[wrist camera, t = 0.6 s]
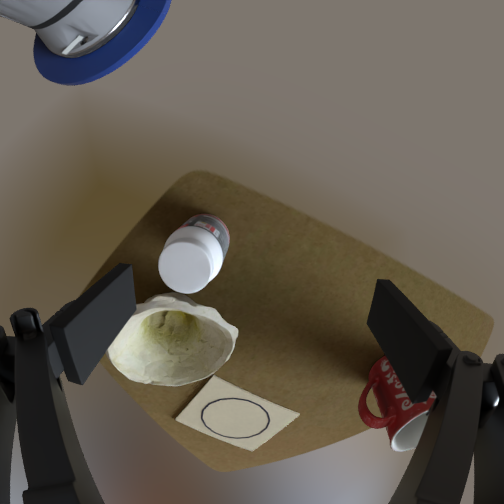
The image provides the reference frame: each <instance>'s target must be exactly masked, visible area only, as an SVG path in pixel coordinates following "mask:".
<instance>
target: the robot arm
mask: <svg viewBox="0 0 504 504" xmlns="http://www.w3.org/2000/svg"><path fill="white" fill-rule="evenodd" d="M139 2H140V0H0V16H1V17H5V18H7V19H10V20H13V21H15V22H17V23H20V24H23V25H25V26H28V27H30V28H32V29H34V30H35V31H36V33H37V34H38V35H39V37H40V38H41V40H42V41H43V42H44V44H45V45H46V46H47V48H48V49H49V50H50V51H51V52H53V53H55V54H57V55H59V56H62V57H65V58H77V57H81V56H84V55H87V54H90V53H92V52H94V51H96V50H97V49H99V48H101V47H102V46H104V45H105V44H107V43H108V42H109V41H110V40H112V39H113V38H114V37H115V36H116V35H117V34H118V33H119V32H120V31H121V30H122V29H123V28H124V27H125V26H126V25H127V23H128V22H129V21H130V19H131V18H132V16H133V15H134V13H135V11H136V10H137V7H138V5H139ZM136 310H137V308H136V300H135V291H134V282H133V271H132V264H123V263H119V264H118V265H117V266H115V267H114V268H113V269H112V270H111V271H109V272H108V273H107V274H106V275H105V276H103V277H102V278H101V279H100V280H99V281H97V282H96V283H95V284H94V285H93V286H91V287H90V288H89V289H88V290H87V291H86V292H84V293H83V294H82V295H81V296H80V297H79V298H78V299H76V300H74V301H71V302H69V303H67V304H65V305H64V306H63V307H62V308H61V309H60V311H57V312H56V313H55V315H53V316H52V317H51V318H50V319H49V320H48V321H46V322H45V323H44V324H43V325H41V321H40V318H39V314H38V311H37V310H36V309H34V308H23V309H20V310H18V311H16V312H14V313H13V314H12V315H11V317H10V322H11V325H12V328H13V331H14V333H15V336H16V337H12V336H6V333H5V331H4V328H3V327H2V326H0V504H10V473H11V458H12V448H13V439H14V432H15V425H16V419H17V424H18V433H19V440H20V447H21V453H22V459H23V464H24V469H25V473H26V478H27V482H28V490H25V491H23V494H22V497H23V503H24V504H105V503H104V501H103V499H102V497H101V495H100V493H99V491H98V489H97V487H96V485H95V482H94V480H93V478H92V475H91V473H90V470H89V468H88V465H87V463H86V460H85V458H84V455H83V452H82V450H81V447H80V444H79V441H78V438H77V435H76V432H75V429H74V426H73V422H72V419H71V415H70V412H69V408H68V405H67V401H66V397H65V393H64V389H63V385H62V381H61V378H60V374H61V373H62V372H63V371H64V372H65V374H66V377H67V379H68V381H70V382H73V383H76V384H80V385H83V384H84V383H85V381H86V380H87V378H88V377H89V375H90V374H91V372H92V371H93V369H94V368H95V367H96V365H97V364H98V362H99V361H100V359H101V358H102V357H103V355H104V354H105V352H106V351H107V350H108V348H109V347H110V345H111V344H112V343H113V341H114V340H115V338H116V337H117V336H118V334H119V333H120V331H121V330H122V329H123V327H124V326H125V325H126V323H127V322H128V321H129V319H130V318H131V317H132V315H133V314H134V313H135V311H136ZM367 325H368V327H369V328H370V330H371V332H372V333H373V335H374V337H375V338H376V340H377V342H378V343H379V345H380V347H381V349H382V350H383V352H384V354H385V356H386V357H387V359H388V361H389V363H390V364H391V366H392V368H393V370H394V371H395V373H396V375H397V377H398V379H399V380H400V382H401V384H402V386H403V388H404V390H405V391H406V393H407V395H408V397H409V399H410V401H411V403H412V404H416V403H422V402H427V400H428V398H429V397H430V395H431V393H432V391H433V392H434V393H435V395H436V398H435V400H434V402H433V403H432V405H431V407H430V409H429V410H428V412H427V414H426V416H428V415H429V416H428V419H427V421H426V424H425V427H424V429H423V432H422V435H421V437H420V440H419V442H418V445H417V447H416V449H415V452H414V454H413V456H412V458H411V461H410V463H409V465H408V467H407V469H406V471H405V474H404V475H403V477H402V479H401V482H400V484H399V485H398V487H397V489H396V491H395V493H394V495H393V496H392V498H391V500H390V502H389V504H460V501H461V498H462V495H463V492H464V488H465V485H466V481H467V478H468V474H469V470H470V466H471V461H472V457H473V452H474V474H475V475H474V504H504V354H499V355H497V356H496V358H495V360H494V362H493V364H488V363H483V361H482V359H481V358H480V357H479V356H478V355H477V354H475V353H472V352H469V351H460V350H459V348H458V347H457V346H456V345H455V344H454V343H453V342H452V341H451V339H450V338H448V336H447V335H446V334H445V333H443V331H442V330H441V328H440V327H439V326H438V325H436V324H434V323H433V322H431V321H428V319H427V318H426V317H425V316H424V315H423V314H422V313H421V312H420V311H419V310H418V309H417V308H416V307H415V306H414V305H413V303H412V302H411V301H410V300H409V299H408V298H407V297H406V296H405V295H404V294H403V293H402V292H401V291H400V290H399V289H398V288H397V287H396V286H395V285H394V284H393V283H392V282H391V281H390V280H383V279H377V283H376V287H375V292H374V296H373V300H372V304H371V308H370V312H369V316H368V320H367ZM497 403H498V405H496V404H497Z"/></svg>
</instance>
